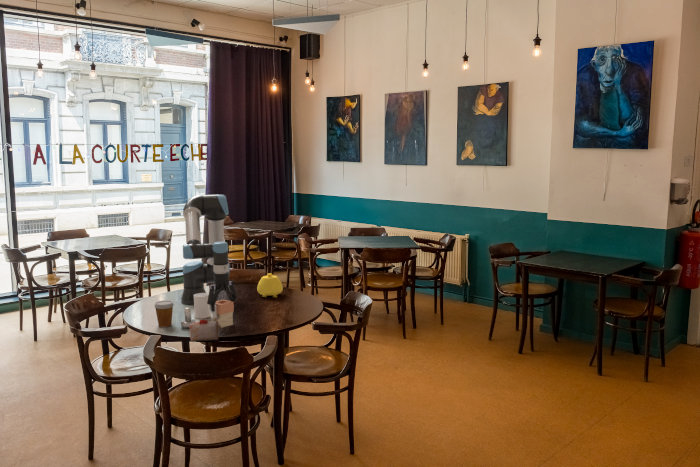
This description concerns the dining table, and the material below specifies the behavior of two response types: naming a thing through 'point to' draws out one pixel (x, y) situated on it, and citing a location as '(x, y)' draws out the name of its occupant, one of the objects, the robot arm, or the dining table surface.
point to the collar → (224, 306)
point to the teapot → (269, 285)
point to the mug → (201, 306)
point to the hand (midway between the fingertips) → (222, 315)
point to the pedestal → (224, 319)
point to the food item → (204, 330)
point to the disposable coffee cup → (164, 313)
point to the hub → (187, 319)
